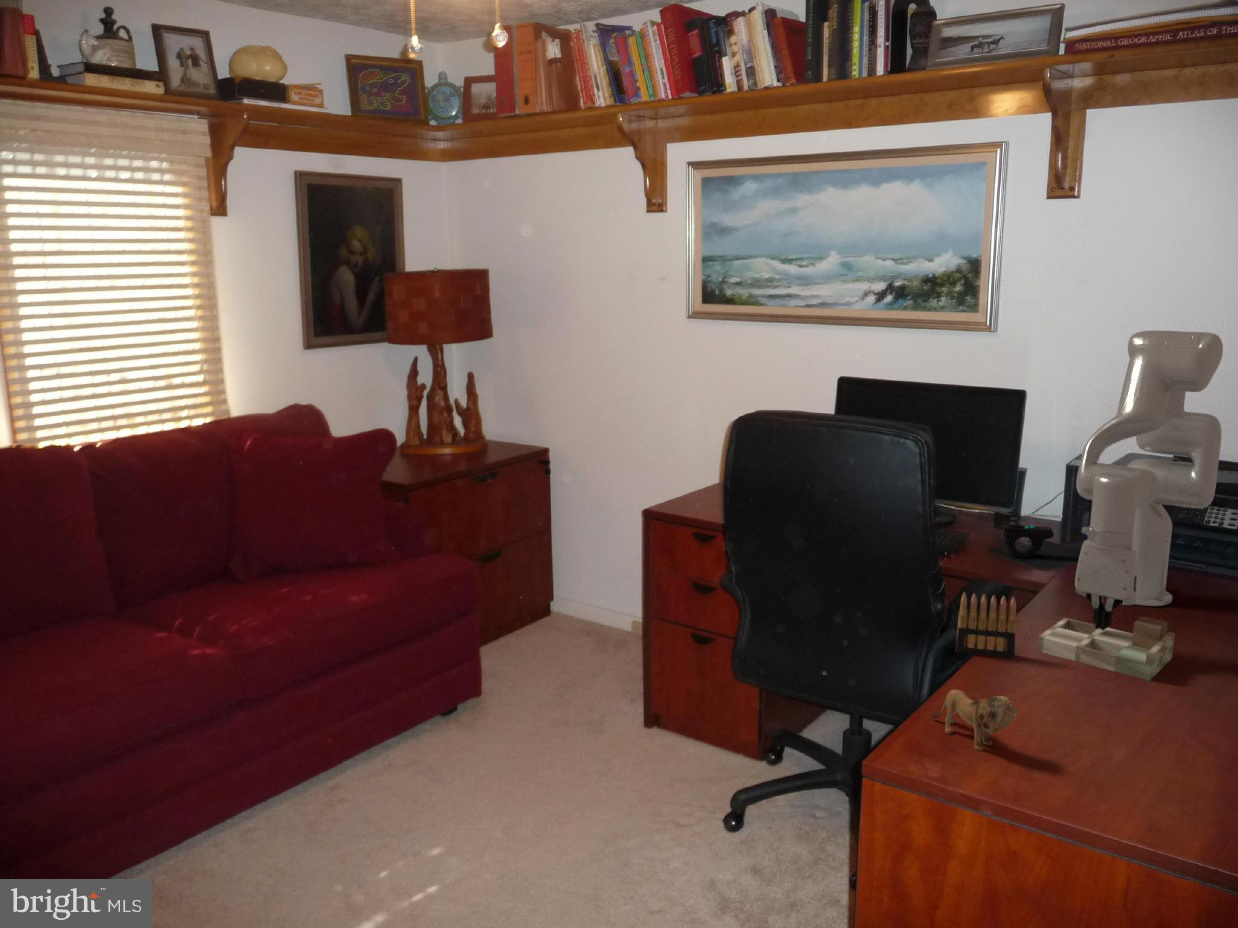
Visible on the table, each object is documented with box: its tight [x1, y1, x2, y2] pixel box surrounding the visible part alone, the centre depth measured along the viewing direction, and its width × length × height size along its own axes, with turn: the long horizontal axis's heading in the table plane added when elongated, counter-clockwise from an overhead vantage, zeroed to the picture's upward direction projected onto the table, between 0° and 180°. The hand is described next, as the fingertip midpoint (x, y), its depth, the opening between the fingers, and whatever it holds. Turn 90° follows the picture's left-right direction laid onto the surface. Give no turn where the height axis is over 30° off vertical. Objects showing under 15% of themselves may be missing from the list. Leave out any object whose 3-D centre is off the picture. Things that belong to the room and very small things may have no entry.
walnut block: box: [1132, 616, 1168, 650], centre depth 183 cm, size 4×4×4 cm
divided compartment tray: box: [1036, 617, 1176, 682], centre depth 186 cm, size 14×20×5 cm
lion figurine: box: [930, 689, 1018, 752], centre depth 153 cm, size 15×5×9 cm, turn 33°
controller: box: [1000, 516, 1055, 558], centre depth 248 cm, size 4×12×10 cm, turn 76°
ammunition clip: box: [954, 592, 1017, 659], centre depth 186 cm, size 11×2×12 cm, turn 73°
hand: (1101, 627), depth 189 cm, fingers closed
